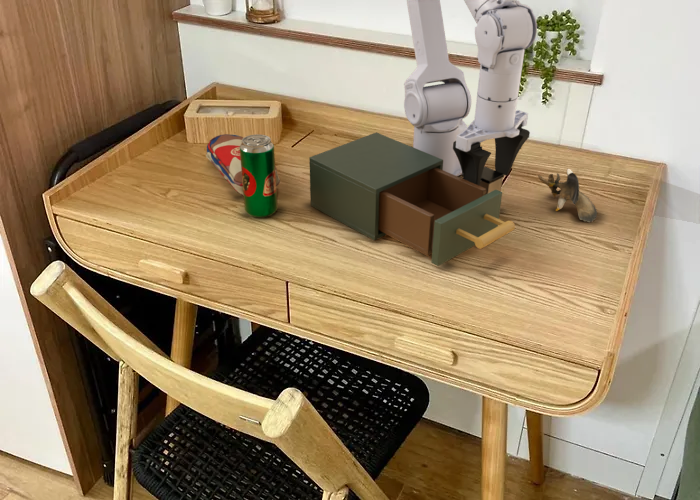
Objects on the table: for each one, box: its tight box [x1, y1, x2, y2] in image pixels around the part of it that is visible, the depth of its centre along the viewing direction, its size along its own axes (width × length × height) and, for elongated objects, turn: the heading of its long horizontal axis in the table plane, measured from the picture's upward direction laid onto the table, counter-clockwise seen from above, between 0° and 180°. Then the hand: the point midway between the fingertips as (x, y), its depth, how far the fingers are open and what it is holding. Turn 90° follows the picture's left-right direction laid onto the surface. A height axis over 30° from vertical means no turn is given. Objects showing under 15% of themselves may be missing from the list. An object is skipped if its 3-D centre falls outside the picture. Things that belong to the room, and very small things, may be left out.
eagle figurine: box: [537, 168, 598, 223], centre depth 111 cm, size 8×7×9 cm
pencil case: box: [205, 133, 281, 197], centre depth 120 cm, size 11×20×5 cm, turn 14°
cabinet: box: [308, 132, 443, 241], centre depth 110 cm, size 14×14×8 cm
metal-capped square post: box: [479, 166, 505, 194], centre depth 110 cm, size 4×4×6 cm
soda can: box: [240, 133, 278, 219], centre depth 108 cm, size 5×5×12 cm
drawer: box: [378, 167, 516, 267], centre depth 101 cm, size 18×13×7 cm
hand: (486, 180), depth 108 cm, fingers open, 7 cm apart
